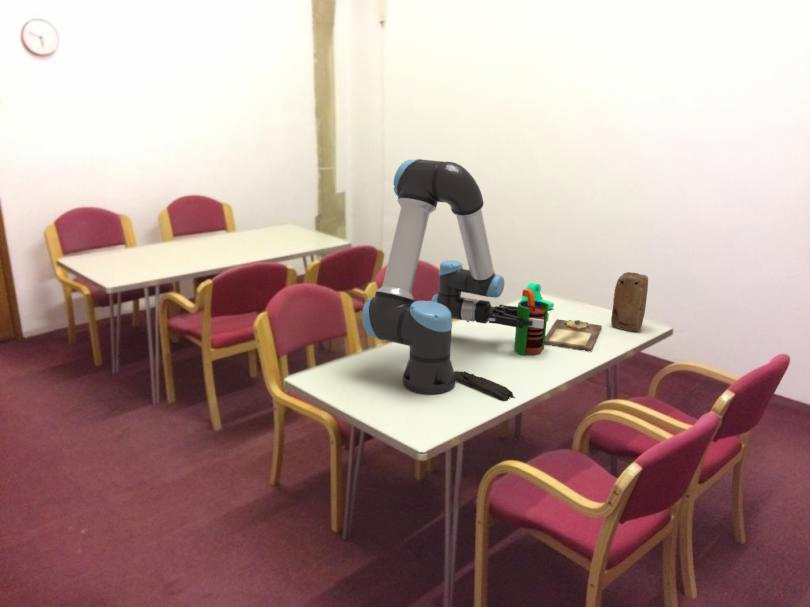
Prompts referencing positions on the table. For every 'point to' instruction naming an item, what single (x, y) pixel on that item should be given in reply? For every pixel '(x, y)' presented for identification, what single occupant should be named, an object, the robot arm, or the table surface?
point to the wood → (485, 385)
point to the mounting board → (573, 334)
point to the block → (629, 301)
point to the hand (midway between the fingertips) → (545, 320)
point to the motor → (530, 337)
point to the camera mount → (537, 294)
